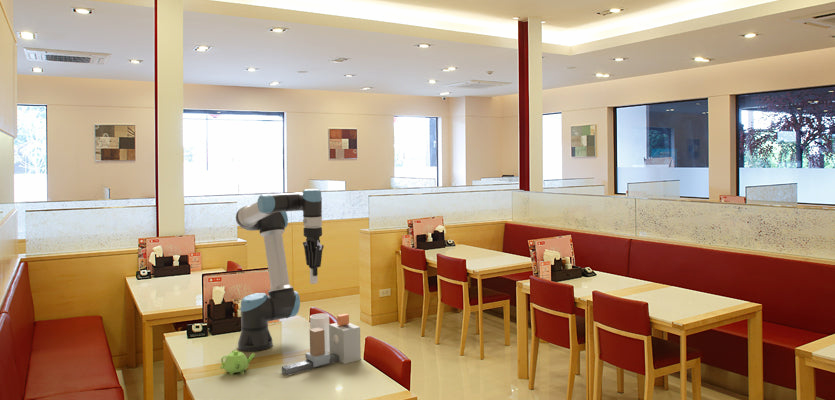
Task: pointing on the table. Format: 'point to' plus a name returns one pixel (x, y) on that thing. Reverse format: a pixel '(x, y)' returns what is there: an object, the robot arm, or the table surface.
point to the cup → (321, 326)
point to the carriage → (317, 348)
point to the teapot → (236, 362)
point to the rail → (306, 365)
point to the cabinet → (345, 342)
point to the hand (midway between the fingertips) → (313, 283)
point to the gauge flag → (342, 319)
